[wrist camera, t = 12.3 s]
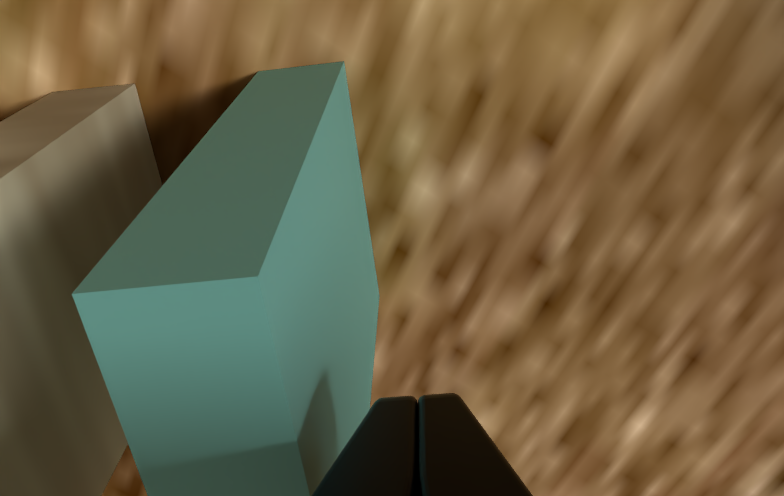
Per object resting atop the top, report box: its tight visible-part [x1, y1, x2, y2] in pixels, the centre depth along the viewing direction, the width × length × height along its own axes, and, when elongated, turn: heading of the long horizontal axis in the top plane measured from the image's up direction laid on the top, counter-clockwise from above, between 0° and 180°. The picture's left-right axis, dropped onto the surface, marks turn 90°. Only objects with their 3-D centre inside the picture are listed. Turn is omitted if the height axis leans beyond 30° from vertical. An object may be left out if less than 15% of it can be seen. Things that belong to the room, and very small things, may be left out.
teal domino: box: [72, 61, 379, 496], centre depth 11 cm, size 2×5×8 cm, turn 7°
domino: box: [0, 84, 162, 496], centre depth 11 cm, size 2×5×8 cm, turn 6°
